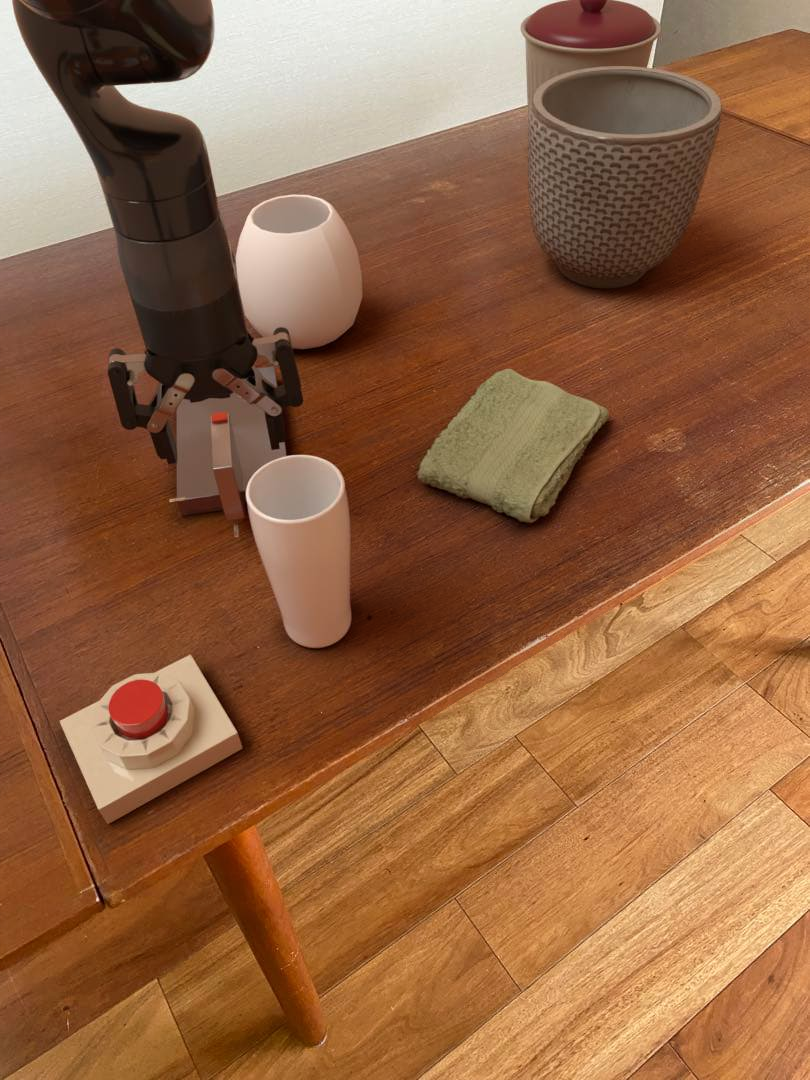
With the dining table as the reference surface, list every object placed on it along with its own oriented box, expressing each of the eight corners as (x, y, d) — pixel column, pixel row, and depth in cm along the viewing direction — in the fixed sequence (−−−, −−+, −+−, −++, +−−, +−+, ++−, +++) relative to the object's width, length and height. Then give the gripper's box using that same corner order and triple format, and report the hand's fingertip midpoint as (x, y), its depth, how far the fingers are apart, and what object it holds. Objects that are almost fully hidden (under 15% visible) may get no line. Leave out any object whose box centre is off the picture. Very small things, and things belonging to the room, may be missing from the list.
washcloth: (613, 420, 84) (618, 393, 82) (537, 536, 74) (540, 510, 72) (492, 381, 89) (494, 355, 87) (405, 486, 79) (404, 459, 76)
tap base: (306, 543, 74) (303, 526, 73) (174, 564, 73) (168, 546, 72) (283, 380, 90) (280, 363, 89) (174, 395, 89) (169, 378, 88)
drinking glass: (329, 578, 72) (308, 439, 61) (378, 628, 68) (366, 490, 57) (259, 619, 69) (225, 482, 58) (306, 674, 65) (279, 539, 54)
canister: (578, 117, 134) (595, -44, 118) (667, 155, 123) (698, -15, 108) (487, 149, 127) (493, -16, 111) (573, 193, 117) (593, 17, 101)
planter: (495, 240, 109) (503, 78, 95) (640, 216, 112) (668, 55, 98) (555, 325, 96) (574, 151, 82) (716, 294, 99) (762, 122, 85)
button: (126, 748, 57) (119, 735, 56) (107, 709, 59) (100, 695, 58) (177, 721, 59) (171, 707, 57) (156, 684, 61) (150, 670, 59)
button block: (107, 824, 58) (89, 797, 55) (68, 736, 62) (50, 706, 59) (243, 748, 61) (233, 718, 58) (196, 670, 66) (185, 639, 63)
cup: (310, 284, 103) (296, 172, 93) (389, 324, 97) (383, 209, 87) (223, 332, 97) (198, 217, 87) (302, 379, 90) (285, 261, 80)
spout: (245, 518, 74) (231, 464, 69) (226, 521, 74) (211, 466, 69) (240, 464, 78) (228, 410, 74) (223, 466, 78) (209, 412, 74)
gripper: (74, 319, 58) (137, 494, 70) (287, 292, 59) (313, 468, 71) (82, 262, 63) (140, 434, 75) (278, 239, 64) (304, 411, 76)
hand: (224, 450), depth 73 cm, fingers open, 8 cm apart
